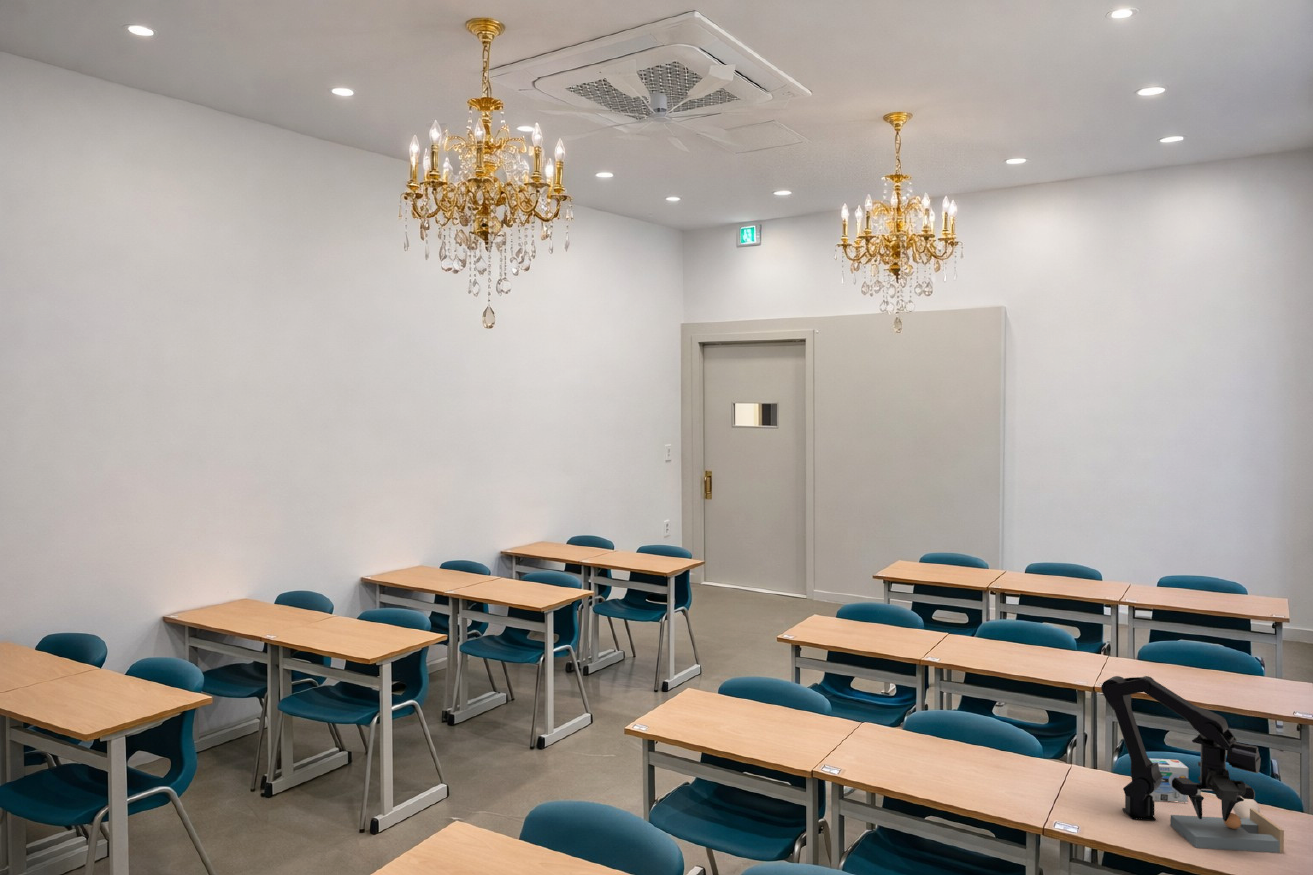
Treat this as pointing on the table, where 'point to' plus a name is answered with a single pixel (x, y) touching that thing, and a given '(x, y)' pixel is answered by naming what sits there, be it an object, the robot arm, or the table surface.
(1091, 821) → the table surface
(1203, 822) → the notched base with backboard
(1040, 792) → the table surface
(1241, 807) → the light bulb
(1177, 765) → the light bulb box
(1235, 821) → the ball
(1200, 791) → the robot arm
